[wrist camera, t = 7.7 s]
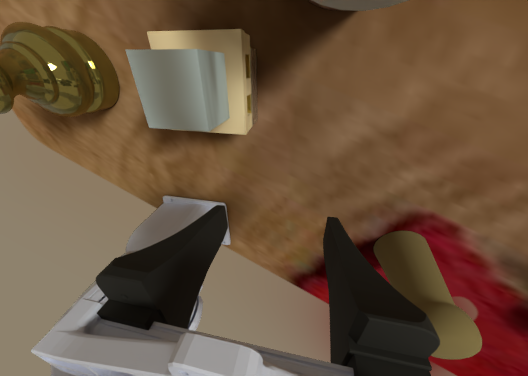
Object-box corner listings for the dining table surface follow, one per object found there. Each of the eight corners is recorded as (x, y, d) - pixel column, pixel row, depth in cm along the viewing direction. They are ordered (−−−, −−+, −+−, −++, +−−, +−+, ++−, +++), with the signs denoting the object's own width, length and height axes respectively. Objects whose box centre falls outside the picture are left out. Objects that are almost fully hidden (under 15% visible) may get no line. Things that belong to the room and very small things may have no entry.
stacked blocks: (184, 123, 20) (139, 144, 14) (166, 35, 16) (95, 20, 11) (252, 127, 18) (229, 151, 13) (249, 33, 15) (216, 15, 9)
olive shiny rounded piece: (133, 107, 22) (26, 132, 14) (82, 111, 24) (-41, 136, 15) (98, 23, 18) (-77, -11, 10) (40, 35, 20) (-152, 13, 12)
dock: (194, 117, 21) (184, 122, 20) (182, 50, 18) (169, 48, 16) (257, 120, 20) (252, 125, 18) (256, 49, 17) (250, 47, 15)
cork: (365, 256, 27) (394, 354, 18) (386, 225, 24) (435, 326, 15) (410, 268, 26) (464, 375, 17) (438, 237, 23) (523, 350, 14)
